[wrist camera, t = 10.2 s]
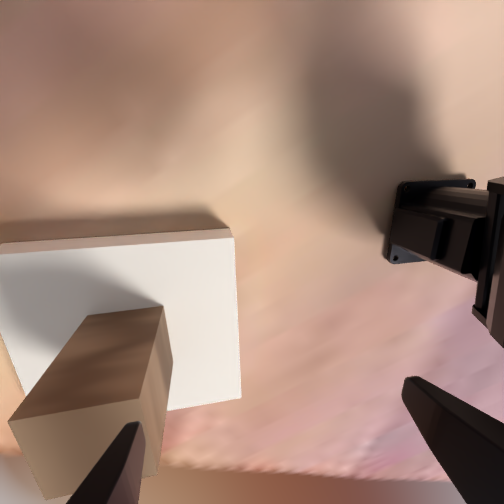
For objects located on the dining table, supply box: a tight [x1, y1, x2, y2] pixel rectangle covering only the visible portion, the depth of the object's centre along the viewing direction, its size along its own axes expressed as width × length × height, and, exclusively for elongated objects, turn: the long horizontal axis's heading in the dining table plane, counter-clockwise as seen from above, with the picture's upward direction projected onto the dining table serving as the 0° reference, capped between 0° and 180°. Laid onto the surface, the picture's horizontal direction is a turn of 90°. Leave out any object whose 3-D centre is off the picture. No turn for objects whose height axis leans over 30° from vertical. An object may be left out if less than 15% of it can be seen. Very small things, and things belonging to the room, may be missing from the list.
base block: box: [0, 228, 241, 411], centre depth 18 cm, size 14×13×2 cm
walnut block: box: [8, 306, 173, 500], centre depth 14 cm, size 4×4×7 cm
